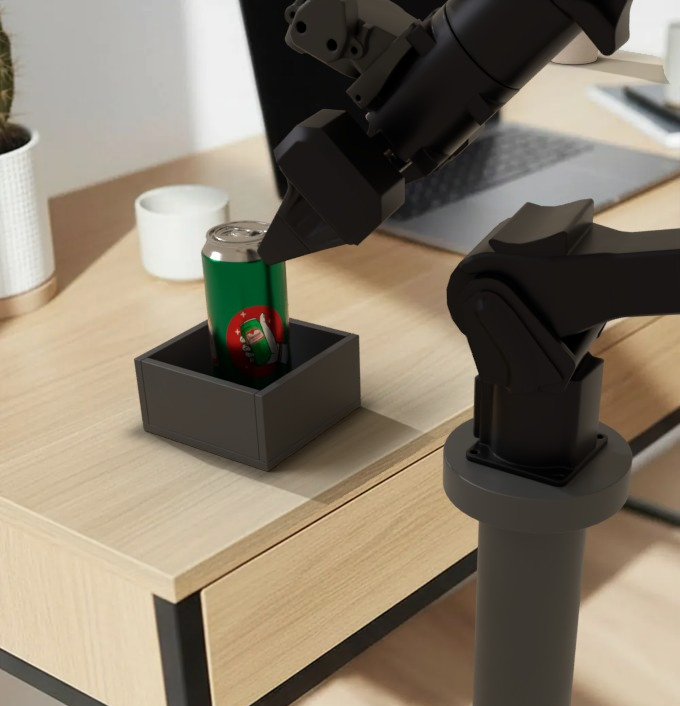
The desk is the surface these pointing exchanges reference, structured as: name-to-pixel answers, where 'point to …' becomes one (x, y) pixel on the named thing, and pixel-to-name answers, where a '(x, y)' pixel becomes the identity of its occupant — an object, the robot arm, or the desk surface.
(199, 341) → the open square box
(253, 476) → the desk surface
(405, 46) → the robot arm
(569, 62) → the coffee cup
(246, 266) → the soda can
